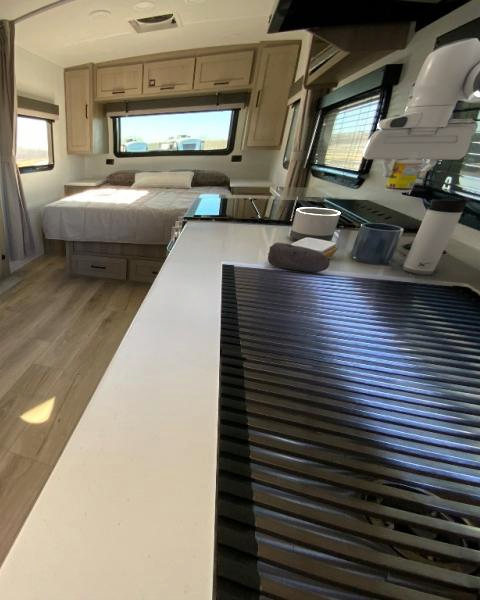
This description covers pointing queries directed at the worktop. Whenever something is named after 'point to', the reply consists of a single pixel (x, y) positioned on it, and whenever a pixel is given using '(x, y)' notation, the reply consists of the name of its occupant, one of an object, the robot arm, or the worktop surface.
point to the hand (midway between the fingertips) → (402, 177)
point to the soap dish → (318, 246)
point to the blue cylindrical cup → (376, 243)
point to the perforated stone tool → (297, 258)
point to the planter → (314, 223)
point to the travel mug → (434, 235)
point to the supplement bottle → (404, 174)
